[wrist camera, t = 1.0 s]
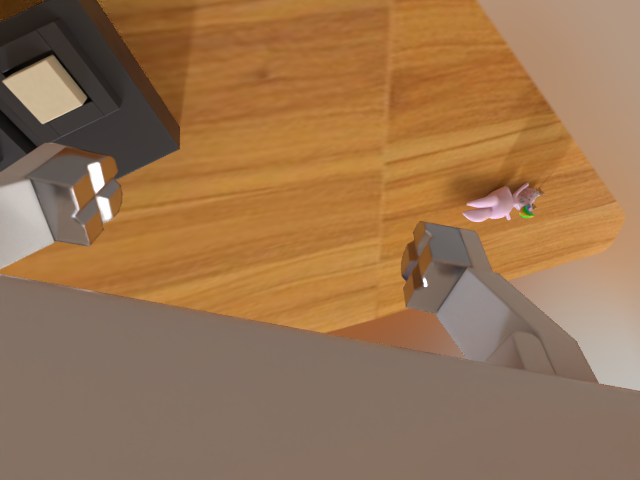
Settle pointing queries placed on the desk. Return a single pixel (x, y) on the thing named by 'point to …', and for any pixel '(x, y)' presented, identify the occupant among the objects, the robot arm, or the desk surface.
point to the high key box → (87, 85)
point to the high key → (46, 89)
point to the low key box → (12, 143)
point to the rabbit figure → (504, 204)
